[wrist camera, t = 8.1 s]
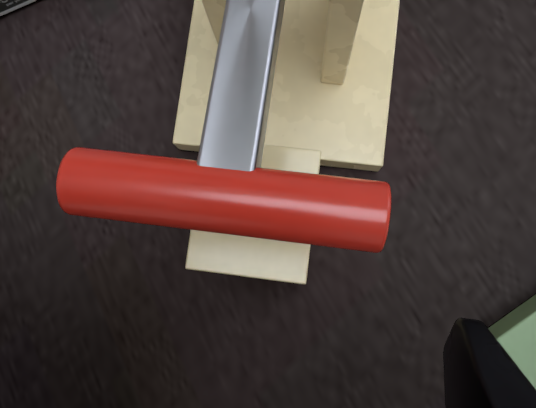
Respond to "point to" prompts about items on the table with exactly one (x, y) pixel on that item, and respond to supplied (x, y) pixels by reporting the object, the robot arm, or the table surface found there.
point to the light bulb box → (12, 5)
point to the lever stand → (308, 78)
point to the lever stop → (256, 249)
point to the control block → (519, 337)
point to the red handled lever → (230, 163)
